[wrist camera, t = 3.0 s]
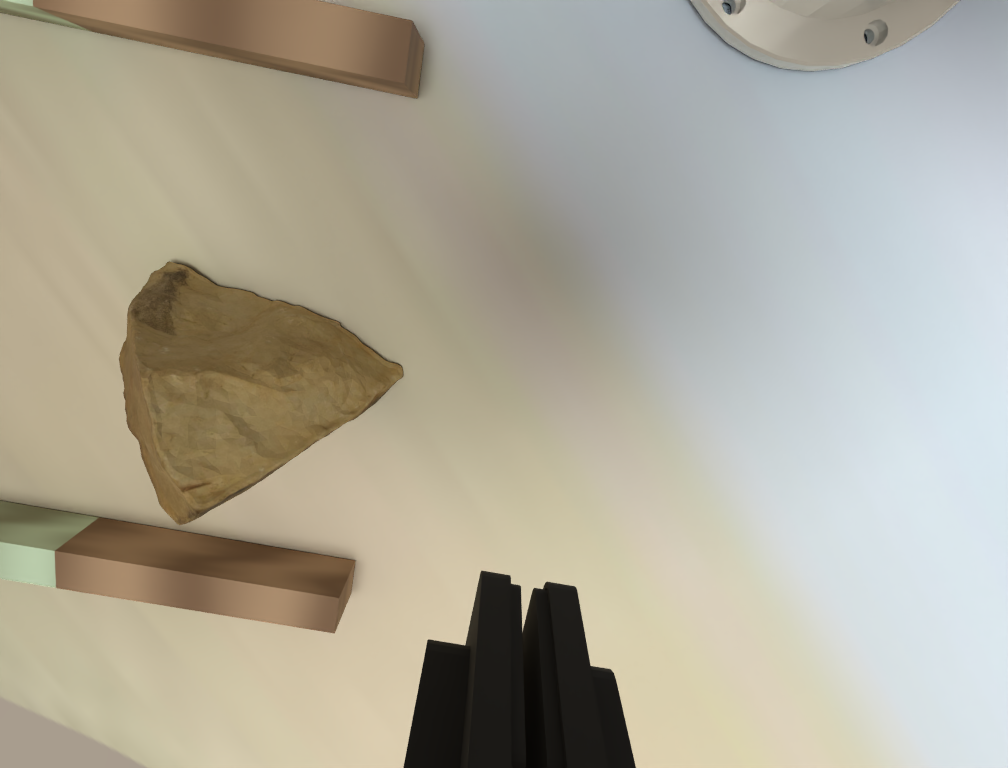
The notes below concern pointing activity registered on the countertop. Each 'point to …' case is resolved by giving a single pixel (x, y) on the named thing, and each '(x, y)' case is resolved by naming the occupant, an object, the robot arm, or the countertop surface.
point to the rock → (234, 386)
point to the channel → (170, 553)
